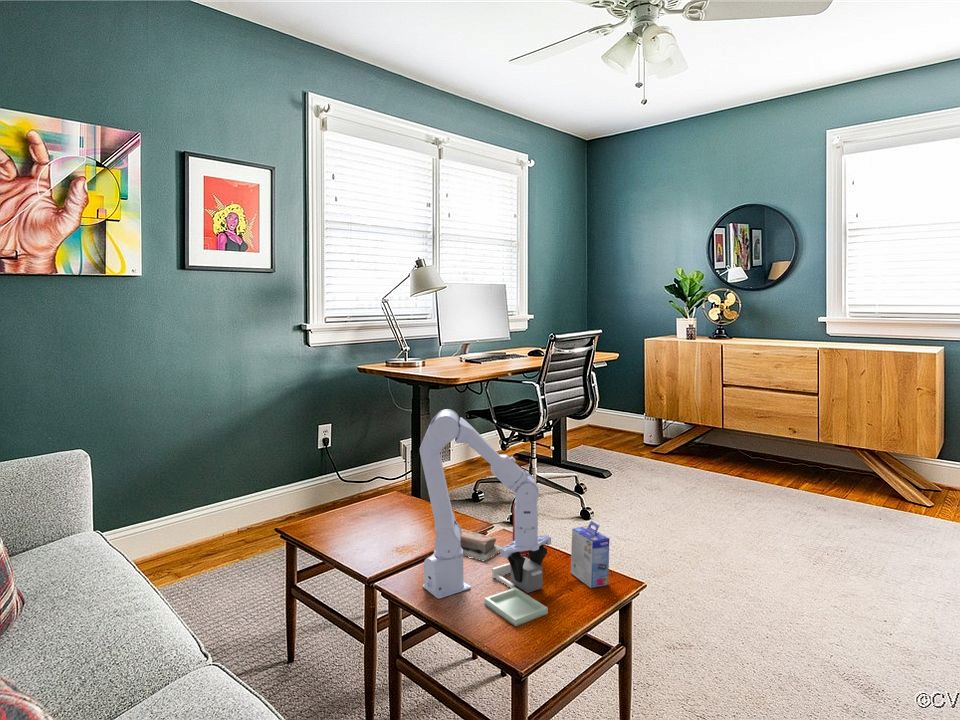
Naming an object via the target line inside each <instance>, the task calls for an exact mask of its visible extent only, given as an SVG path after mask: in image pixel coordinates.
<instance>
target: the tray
mask: <svg viewBox="0 0 960 720" xmlns="http://www.w3.org/2000/svg"><path fill="white" fill-rule="evenodd" d="M484 605H485V606H486V607H487V608H489V609H490V610H492V611H493V612H494V613H496V614H497V615H499V616H500V617H502V618H503V619H504V620H506V621H507V623H510V624H511V625H513V626H514V627H518V626H520V625H523V624H526V623H528V622H531V621H533V620H535V619H539V618H541V617H543V616H547V615H548V613H549V612H548V611H549V608H548V606H546V605H544V604H542V602H540V601H538V600H536V599H534V598H533V597H531V596H530V595H529V594H528V593H525V591H523V590H522V589H521V590H520V589H519V587H518V588H517V586H515V588H512V589H511V588H509V589H506V590H503V591H501V592H497V593H495V594H492V595H488V596H486V597H484Z"/></svg>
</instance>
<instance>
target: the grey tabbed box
mask: <svg viewBox="0 0 960 720" xmlns="http://www.w3.org/2000/svg"><path fill="white" fill-rule="evenodd" d="M523 557H524V558H525V561H524V565H523V576H522V582H520V583H519V582H517V581H516V580H515V578H514V574H513V571H512V568H511V565H510V582H511V583H513V584H515V587H518V589H519V588H520V589H521V591H523V592H526V594H530V593H532V592H534V591H537V590H541V589H543V587H544V586H543V582H544V581H543V580H544V578H543V573H544V572H543V565H542V564H541V565H539V564H537V563H536V562H534V561H532V560H530V558H528V557H526V556H523Z"/></svg>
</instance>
